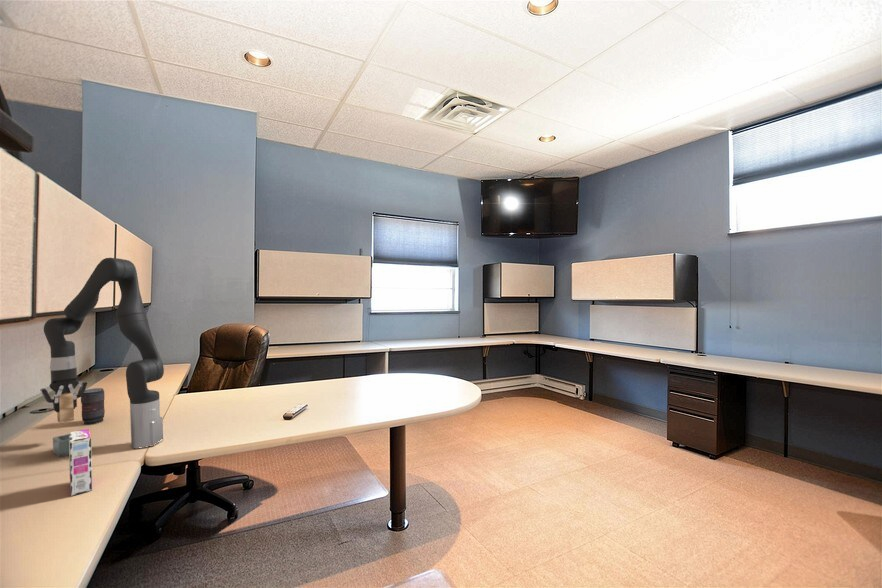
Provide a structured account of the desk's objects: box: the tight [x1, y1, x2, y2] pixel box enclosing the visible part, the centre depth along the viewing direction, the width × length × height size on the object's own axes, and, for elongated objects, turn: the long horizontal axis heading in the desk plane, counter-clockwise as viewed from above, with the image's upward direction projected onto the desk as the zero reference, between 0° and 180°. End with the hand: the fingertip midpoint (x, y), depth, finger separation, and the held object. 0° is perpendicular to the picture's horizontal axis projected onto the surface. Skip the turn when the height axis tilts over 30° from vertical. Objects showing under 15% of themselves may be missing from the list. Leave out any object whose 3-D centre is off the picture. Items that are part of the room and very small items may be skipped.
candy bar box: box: [68, 428, 93, 497], centre depth 120 cm, size 11×5×16 cm, turn 45°
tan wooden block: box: [56, 392, 75, 424], centre depth 156 cm, size 4×4×11 cm
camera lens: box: [80, 387, 106, 426], centre depth 180 cm, size 8×8×15 cm
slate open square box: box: [52, 433, 69, 458], centre depth 148 cm, size 8×8×6 cm
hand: (65, 410), depth 156 cm, fingers closed on tan wooden block, 4 cm apart
